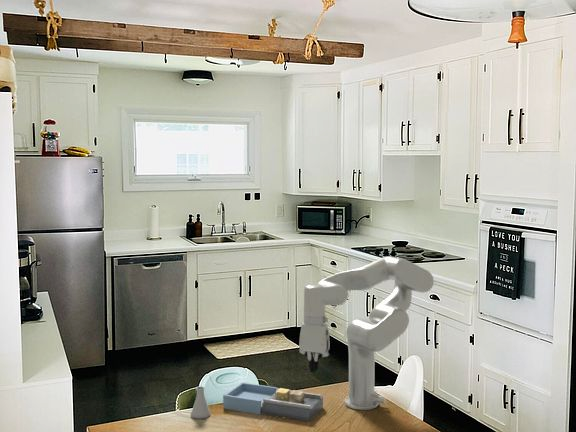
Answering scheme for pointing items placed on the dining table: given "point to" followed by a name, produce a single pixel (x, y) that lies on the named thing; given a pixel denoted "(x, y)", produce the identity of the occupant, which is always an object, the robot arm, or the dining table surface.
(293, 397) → the beige square block
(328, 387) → the dining table surface
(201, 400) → the flask
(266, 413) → the slot block
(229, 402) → the tray
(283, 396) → the olive yellow block
